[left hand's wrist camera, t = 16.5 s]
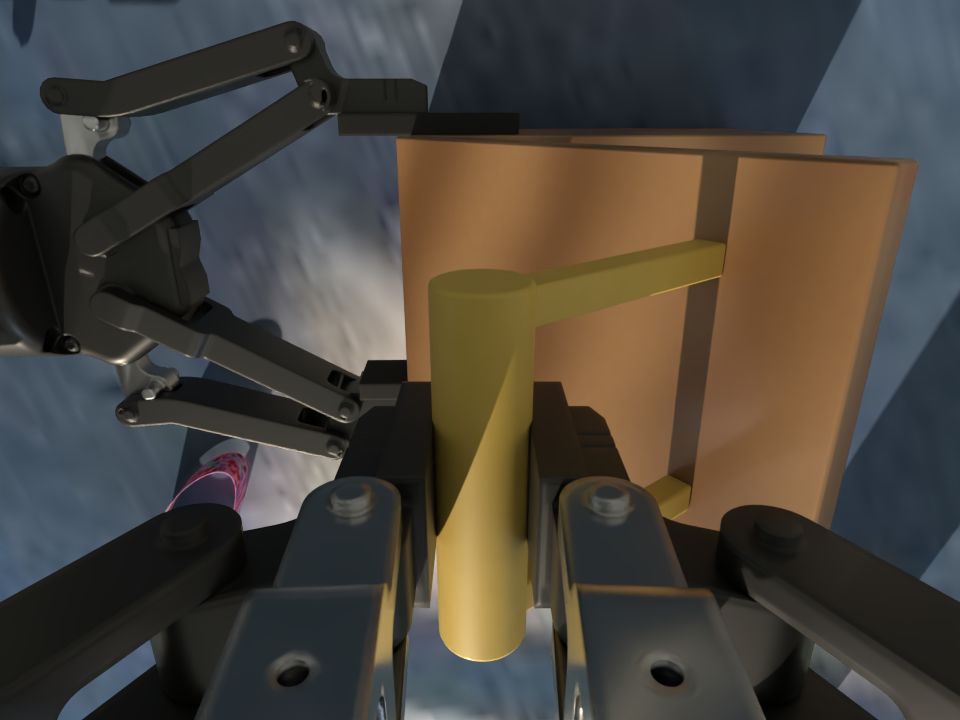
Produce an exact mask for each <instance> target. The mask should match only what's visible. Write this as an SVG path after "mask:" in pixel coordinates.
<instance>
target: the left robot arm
mask: <svg viewBox="0 0 960 720" xmlns="http://www.w3.org/2000/svg"><path fill="white" fill-rule="evenodd" d="M436 540H437V527H436V495H435V463H434V431H433V420H432V399H431V381H403V382H402V384H401V387H400V391H399V394H398V398H397V401H396V405H395V406H374V407H372V408H371V409H370V410H369V411H367V412H366V413H365V414H363V415H362V416H361V417H360V418H359V419H358V421H357V424H356V426H355V429H354V431H353V435H352V436H351V439H350V441H349V444H348V447H347V449H346V451H345V454H344V456H343V459H342V461H341V464H340V466H339V469H338V471H337V474H336V476H335V479H334V480H333V481H330V482H327V483H325V484H323V485H321V486H319V487H318V488H316V489H314V490H313V491H312V492H311V493H310V494H308V496H307V497H306V498H305V500H304V501H303V503H302V506H301V509H300V512H299V514H298V517H297V519H294V520H291V521H288V522H285V523H281V524H277V525H272V526H267V527H262V528H257V529H252V530H247V531H243V527H242V521H241V517H240V515H239V514H238V513H237V512H236V511H235V510H234V509H232V508H230V507H227V506H225V505H220V504H212V503H202V504H193V505H187V506H182V507H179V508H175V509H172V510H169V511H167V512H164V513H162V514H160V515H158V516H156V517H154V518H152V519H150V520H148V521H146V522H145V523H143V524H141V525H139V526H137V527H136V528H134V529H132V530H130V531H128V532H127V533H125V534H123V535H121V536H119V537H117V538H116V539H114V540H112V541H110V542H108V543H107V544H105V545H103V546H101V547H99V548H98V549H96V550H94V551H92V552H90V553H89V554H87V555H85V556H83V557H81V558H79V559H78V560H76V561H74V562H72V563H70V564H69V565H67V566H65V567H63V568H61V569H60V570H58V571H56V572H54V573H52V574H51V575H49V576H47V577H45V578H43V579H42V580H40V581H38V582H36V583H34V584H32V585H31V586H29V587H27V588H25V589H23V590H22V591H20V592H18V593H16V594H14V595H13V596H11V597H9V598H7V599H5V600H4V601H2V602H0V720H57V718H58V716H59V714H60V712H61V710H62V709H63V707H64V706H65V704H66V703H67V702H68V701H69V700H70V698H71V697H72V696H73V695H74V694H75V693H76V692H78V691H79V690H80V689H81V688H83V687H84V686H85V685H87V684H88V683H90V682H91V681H92V680H94V679H95V678H97V677H98V676H99V675H101V674H102V673H104V672H105V671H106V670H108V669H109V668H110V667H112V666H113V665H115V664H116V663H117V662H119V661H120V660H122V659H123V658H124V657H126V656H127V655H129V654H130V653H131V652H133V651H134V650H136V649H137V648H138V647H140V646H141V645H143V644H144V643H145V642H147V641H148V640H150V641H151V645H152V649H153V653H154V657H155V661H156V664H155V665H154V666H152V667H151V668H150V669H148V670H147V671H146V672H144V673H143V674H142V675H141V676H139V677H138V678H137V679H135V680H134V681H133V682H131V683H130V684H129V685H127V686H126V687H125V688H123V689H122V690H121V691H119V692H118V693H117V694H115V695H114V696H113V697H111V698H110V699H109V700H107V701H106V702H105V703H103V704H102V705H101V706H100V707H98V708H97V709H96V710H94V711H93V712H92V713H90V714H89V715H88V716H86V717H85V718H84V719H82V720H404V715H405V699H406V684H407V669H408V653H409V644H408V632H409V630H410V627H411V623H412V615H413V608H430V600H431V590H432V580H433V570H434V560H435V550H436ZM527 544H528V553H529V562H530V572H531V581H532V590H533V599H534V608H551V612H552V619H553V626H552V645H551V653H552V668H553V683H554V699H555V714H556V720H878V719H876V718H875V717H874V716H872V715H871V714H870V713H868V712H867V711H866V710H864V709H863V708H862V707H860V706H859V705H858V704H857V703H855V702H854V701H853V700H851V699H850V698H849V697H847V696H846V695H845V694H843V693H842V692H841V691H839V690H838V689H837V688H835V687H834V686H833V685H831V684H830V683H829V682H827V681H826V680H825V679H823V678H822V677H821V676H820V675H818V674H817V673H816V672H814V671H813V670H812V669H810V668H809V663H810V659H811V655H812V651H813V647H814V643H816V644H817V645H819V646H820V647H822V648H823V649H824V650H826V651H827V652H829V653H830V654H831V655H833V656H834V657H836V658H837V659H838V660H840V661H841V662H843V663H844V664H845V665H847V666H848V667H850V668H851V669H852V670H854V671H855V672H857V673H858V674H859V675H861V676H862V677H863V678H865V679H866V680H868V681H869V682H870V683H872V684H873V685H875V686H876V687H877V688H879V689H880V690H882V691H883V692H884V693H885V694H887V695H888V696H889V697H890V698H891V699H892V700H893V701H894V703H895V704H896V705H897V706H898V707H899V709H900V710H901V712H902V713H903V715H904V717H905V719H906V720H960V602H958V601H957V600H955V599H953V598H951V597H949V596H947V595H946V594H944V593H942V592H940V591H938V590H937V589H935V588H933V587H931V586H929V585H928V584H926V583H924V582H922V581H920V580H919V579H917V578H915V577H913V576H911V575H909V574H908V573H906V572H904V571H902V570H900V569H899V568H897V567H895V566H893V565H891V564H890V563H888V562H886V561H884V560H882V559H881V558H879V557H877V556H875V555H873V554H871V553H870V552H868V551H866V550H864V549H862V548H861V547H859V546H857V545H855V544H853V543H852V542H850V541H848V540H846V539H844V538H843V537H841V536H839V535H837V534H835V533H833V532H832V531H830V530H828V529H826V528H824V527H823V526H821V525H819V524H817V523H815V522H814V521H812V520H810V519H808V518H806V517H804V516H802V515H800V514H797V513H795V512H792V511H789V510H786V509H783V508H778V507H774V506H767V505H744V506H739V507H736V508H733V509H731V510H729V511H728V512H727V513H725V514H724V515H723V517H722V519H721V524H720V530H719V531H717V530H712V529H707V528H702V527H697V526H692V525H687V524H683V523H679V522H676V521H673V520H670V519H668V518H665V517H663V516H662V514H661V511H660V509H659V506H658V503H657V501H656V499H655V498H654V497H653V496H652V494H650V493H649V492H648V491H647V490H646V489H644V488H643V487H641V486H639V485H637V484H635V483H633V482H631V481H630V479H629V476H628V474H627V471H626V469H625V466H624V464H623V461H622V459H621V457H620V454H619V452H618V449H617V448H616V444H615V442H614V439H613V437H612V435H611V432H610V430H609V427H608V425H607V422H606V420H605V418H604V417H602V416H601V415H600V414H599V413H597V412H596V411H595V410H593V409H592V408H591V407H589V406H568V403H567V399H566V396H565V393H564V389H563V386H562V383H561V381H534V385H533V416H532V422H531V430H530V461H529V492H528V523H527Z"/></svg>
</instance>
